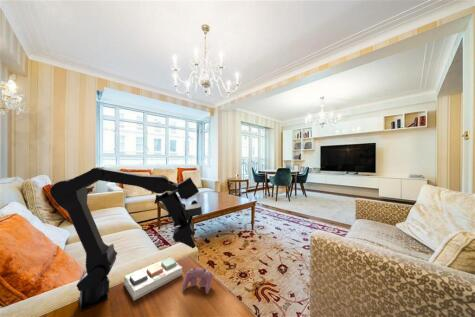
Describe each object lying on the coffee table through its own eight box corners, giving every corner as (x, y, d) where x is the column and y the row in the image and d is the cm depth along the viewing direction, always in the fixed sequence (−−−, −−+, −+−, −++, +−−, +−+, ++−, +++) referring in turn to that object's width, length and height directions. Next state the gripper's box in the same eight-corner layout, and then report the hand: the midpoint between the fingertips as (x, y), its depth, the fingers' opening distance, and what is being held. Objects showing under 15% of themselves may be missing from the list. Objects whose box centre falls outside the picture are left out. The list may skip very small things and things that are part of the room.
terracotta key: (151, 279, 61) (151, 273, 61) (146, 273, 64) (146, 268, 64) (162, 273, 64) (162, 268, 64) (157, 268, 67) (157, 263, 67)
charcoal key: (134, 287, 57) (134, 281, 57) (129, 281, 60) (130, 275, 60) (147, 281, 60) (147, 275, 60) (142, 275, 63) (142, 269, 63)
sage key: (166, 272, 65) (166, 266, 65) (161, 267, 68) (161, 261, 68) (176, 267, 69) (176, 261, 69) (170, 262, 71) (171, 257, 71)
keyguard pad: (133, 300, 54) (134, 290, 54) (123, 284, 61) (124, 275, 61) (181, 274, 67) (182, 266, 67) (169, 263, 74) (169, 256, 74)
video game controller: (211, 291, 62) (213, 268, 65) (208, 294, 58) (211, 270, 61) (184, 288, 63) (188, 265, 66) (180, 291, 59) (184, 267, 62)
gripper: (194, 203, 55) (216, 242, 58) (193, 189, 73) (210, 219, 76) (162, 222, 53) (186, 261, 56) (169, 202, 71) (187, 232, 74)
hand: (194, 240), depth 66 cm, fingers open, 9 cm apart
